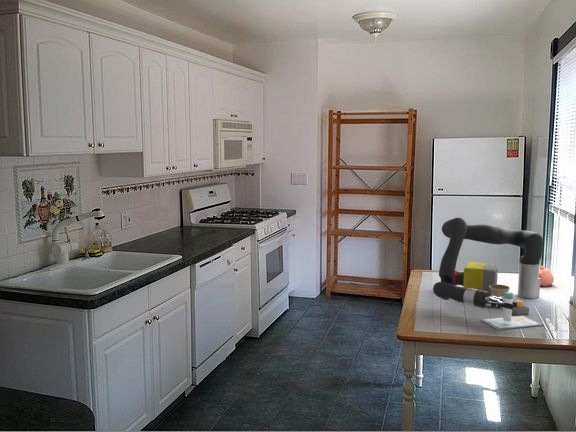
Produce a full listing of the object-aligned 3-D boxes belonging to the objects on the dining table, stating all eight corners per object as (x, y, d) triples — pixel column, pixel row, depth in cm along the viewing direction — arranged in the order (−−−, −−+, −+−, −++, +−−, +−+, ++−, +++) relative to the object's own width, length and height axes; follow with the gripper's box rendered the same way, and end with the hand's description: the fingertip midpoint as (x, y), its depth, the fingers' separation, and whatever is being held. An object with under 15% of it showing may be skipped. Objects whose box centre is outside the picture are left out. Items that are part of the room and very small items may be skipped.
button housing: (520, 310, 255) (520, 304, 255) (528, 314, 249) (529, 307, 249) (509, 311, 254) (509, 305, 254) (517, 315, 248) (517, 308, 248)
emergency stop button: (448, 287, 295) (449, 260, 293) (496, 292, 285) (498, 264, 283) (444, 294, 282) (444, 266, 280) (494, 300, 272) (495, 270, 270)
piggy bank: (554, 283, 301) (555, 265, 300) (551, 289, 290) (552, 270, 288) (530, 280, 308) (531, 262, 307) (526, 286, 296) (527, 268, 295)
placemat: (523, 316, 247) (524, 314, 247) (543, 325, 234) (543, 324, 234) (480, 320, 242) (480, 318, 242) (498, 330, 229) (498, 328, 229)
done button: (519, 308, 254) (520, 299, 253) (524, 310, 250) (525, 301, 250) (513, 308, 253) (513, 300, 252) (518, 311, 249) (518, 302, 249)
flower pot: (499, 308, 259) (500, 290, 257) (484, 303, 267) (484, 285, 266) (513, 305, 263) (514, 287, 262) (497, 300, 271) (498, 283, 270)
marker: (508, 318, 238) (509, 291, 236) (513, 321, 234) (514, 294, 233) (501, 319, 237) (502, 292, 235) (506, 321, 233) (507, 294, 232)
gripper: (469, 292, 239) (508, 300, 227) (484, 286, 249) (522, 294, 237) (468, 309, 240) (507, 318, 228) (483, 302, 250) (521, 310, 238)
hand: (514, 305), depth 233 cm, fingers closed on marker, 3 cm apart
